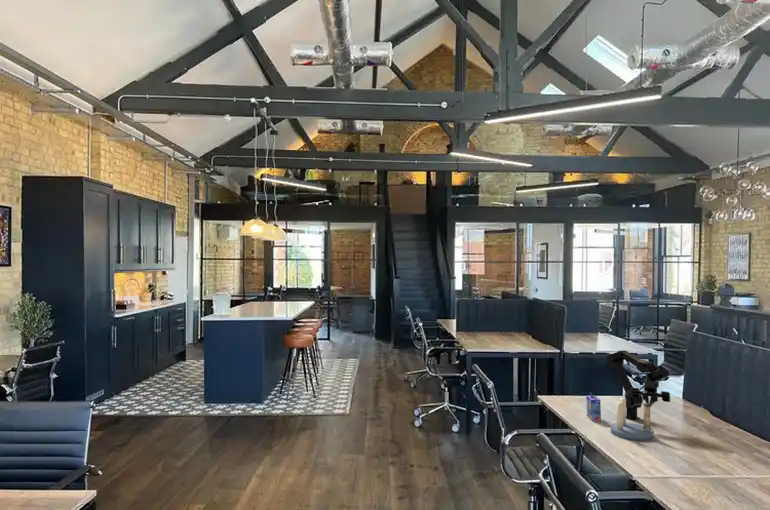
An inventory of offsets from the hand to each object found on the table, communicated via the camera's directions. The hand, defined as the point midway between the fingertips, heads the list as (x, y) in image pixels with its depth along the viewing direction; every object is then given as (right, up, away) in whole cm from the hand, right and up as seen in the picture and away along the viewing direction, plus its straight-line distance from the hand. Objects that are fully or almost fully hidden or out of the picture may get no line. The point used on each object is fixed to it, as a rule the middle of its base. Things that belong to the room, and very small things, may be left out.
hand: (648, 408), depth 270 cm
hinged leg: (-6, -7, -9) cm, 13 cm away
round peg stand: (-12, -12, -5) cm, 17 cm away
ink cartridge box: (-20, -13, +22) cm, 32 cm away
